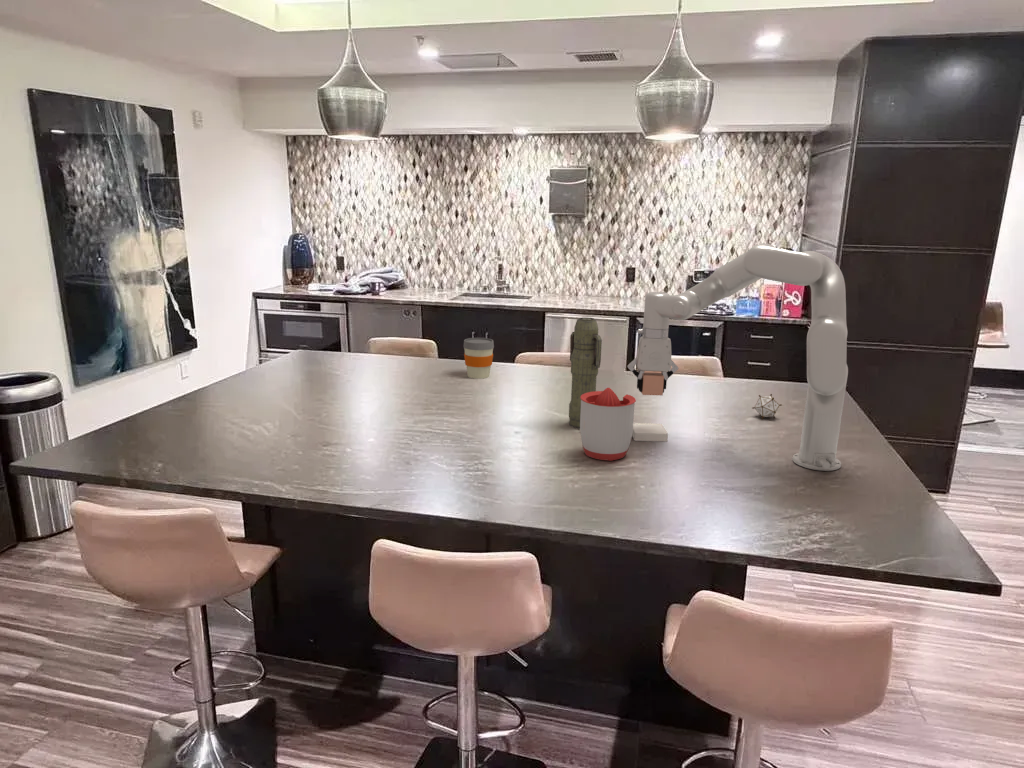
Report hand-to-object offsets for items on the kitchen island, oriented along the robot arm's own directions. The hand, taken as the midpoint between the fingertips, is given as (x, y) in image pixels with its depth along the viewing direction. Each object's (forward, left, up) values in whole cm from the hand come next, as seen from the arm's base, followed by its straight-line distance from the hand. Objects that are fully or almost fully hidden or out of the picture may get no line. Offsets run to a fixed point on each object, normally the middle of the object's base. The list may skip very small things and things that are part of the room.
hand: (651, 390), depth 218 cm
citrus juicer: (-17, +15, -15) cm, 27 cm away
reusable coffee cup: (+73, +58, -15) cm, 94 cm away
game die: (+23, -44, -15) cm, 52 cm away
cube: (0, 0, -1) cm, 1 cm away
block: (0, 0, -15) cm, 15 cm away
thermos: (+10, +20, -15) cm, 27 cm away
